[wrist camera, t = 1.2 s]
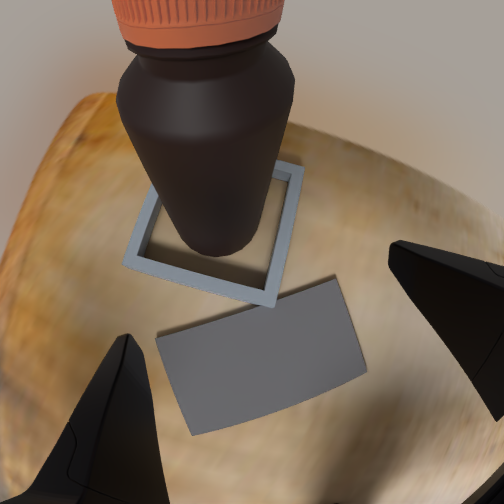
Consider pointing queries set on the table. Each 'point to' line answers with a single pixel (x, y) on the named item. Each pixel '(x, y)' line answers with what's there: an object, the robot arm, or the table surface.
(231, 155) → the vinegar
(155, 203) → the bottle holder
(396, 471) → the table surface
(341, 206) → the table surface
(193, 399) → the mat
